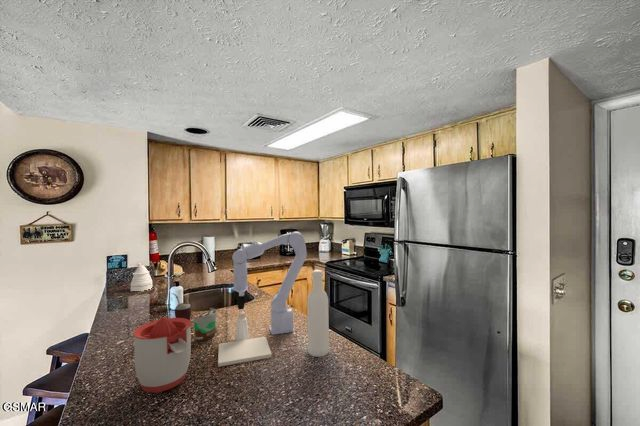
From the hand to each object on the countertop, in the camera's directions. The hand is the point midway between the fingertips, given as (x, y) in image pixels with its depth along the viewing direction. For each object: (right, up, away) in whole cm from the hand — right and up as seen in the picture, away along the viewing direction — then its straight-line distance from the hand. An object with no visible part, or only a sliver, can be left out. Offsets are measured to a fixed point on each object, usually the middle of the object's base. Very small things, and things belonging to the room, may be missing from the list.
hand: (240, 308), depth 122 cm
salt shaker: (+3, -11, -7) cm, 13 cm away
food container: (-12, -11, -4) cm, 17 cm away
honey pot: (-89, -12, +73) cm, 116 cm away
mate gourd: (-32, -11, +13) cm, 36 cm away
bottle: (+34, -10, -18) cm, 40 cm away
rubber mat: (+6, -10, -18) cm, 21 cm away
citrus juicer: (-13, -11, -36) cm, 40 cm away
